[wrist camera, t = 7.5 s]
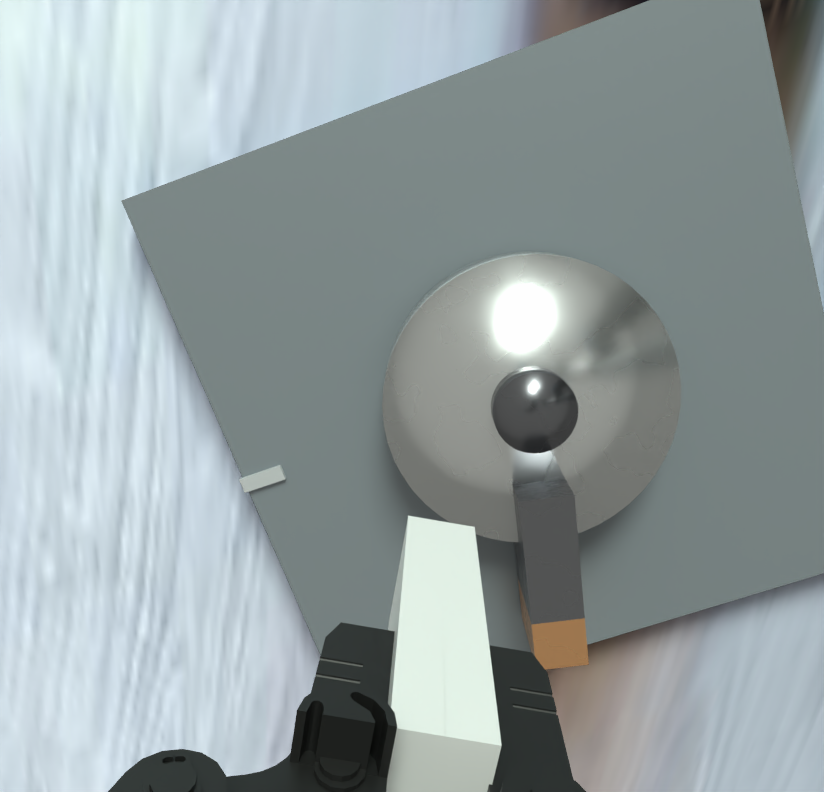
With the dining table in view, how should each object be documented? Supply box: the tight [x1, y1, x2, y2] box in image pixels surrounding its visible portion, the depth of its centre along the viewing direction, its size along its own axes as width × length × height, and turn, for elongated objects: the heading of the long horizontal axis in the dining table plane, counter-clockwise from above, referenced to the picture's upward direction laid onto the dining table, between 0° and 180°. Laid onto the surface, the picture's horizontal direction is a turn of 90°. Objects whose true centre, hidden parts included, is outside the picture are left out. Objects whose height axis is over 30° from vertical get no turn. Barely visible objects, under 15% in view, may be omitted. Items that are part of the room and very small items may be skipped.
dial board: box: [122, 0, 824, 655], centre depth 28 cm, size 24×24×2 cm
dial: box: [382, 251, 681, 670], centre depth 26 cm, size 16×11×4 cm
